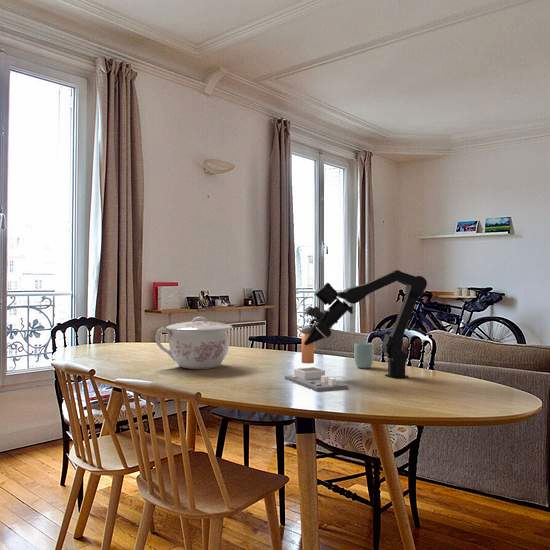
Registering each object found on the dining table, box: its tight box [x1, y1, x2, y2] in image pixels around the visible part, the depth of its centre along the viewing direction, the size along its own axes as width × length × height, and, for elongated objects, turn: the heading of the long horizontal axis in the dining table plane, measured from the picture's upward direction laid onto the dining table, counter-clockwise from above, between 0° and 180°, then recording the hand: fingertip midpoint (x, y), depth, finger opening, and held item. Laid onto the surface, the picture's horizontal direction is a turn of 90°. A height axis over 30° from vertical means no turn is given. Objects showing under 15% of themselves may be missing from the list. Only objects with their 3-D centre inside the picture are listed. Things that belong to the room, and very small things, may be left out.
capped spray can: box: [301, 326, 315, 365], centre depth 208 cm, size 5×5×13 cm
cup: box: [353, 341, 375, 369], centre depth 230 cm, size 8×8×10 cm
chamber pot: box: [154, 316, 234, 370], centre depth 230 cm, size 28×28×21 cm
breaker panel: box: [284, 366, 349, 392], centre depth 196 cm, size 24×12×4 cm, turn 25°
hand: (304, 343), depth 208 cm, fingers closed on capped spray can, 5 cm apart
